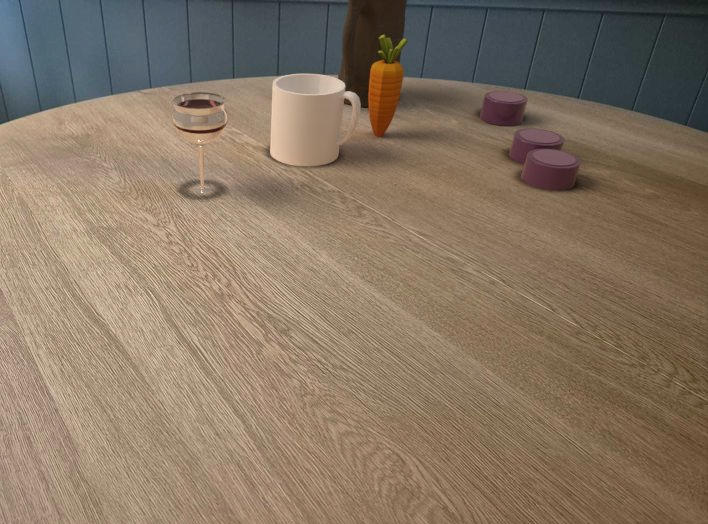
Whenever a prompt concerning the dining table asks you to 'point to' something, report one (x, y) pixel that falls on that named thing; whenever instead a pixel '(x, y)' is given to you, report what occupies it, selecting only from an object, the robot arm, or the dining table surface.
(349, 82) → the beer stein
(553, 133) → the dish
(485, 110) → the dish
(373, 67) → the carrot
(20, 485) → the dining table surface
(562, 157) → the dish
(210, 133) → the wineglass
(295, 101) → the mug
